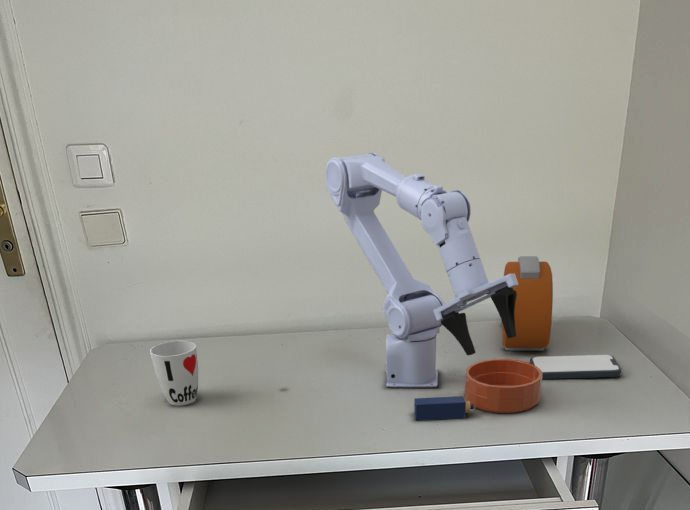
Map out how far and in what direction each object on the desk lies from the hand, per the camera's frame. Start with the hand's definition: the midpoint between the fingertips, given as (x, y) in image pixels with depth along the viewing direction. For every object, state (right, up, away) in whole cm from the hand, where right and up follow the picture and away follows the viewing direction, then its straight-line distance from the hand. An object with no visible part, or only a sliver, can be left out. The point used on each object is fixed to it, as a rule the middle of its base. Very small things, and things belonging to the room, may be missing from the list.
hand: (491, 346), depth 119 cm
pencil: (-8, -11, +6) cm, 15 cm away
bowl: (+4, -7, +11) cm, 14 cm away
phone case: (+20, -1, +21) cm, 29 cm away
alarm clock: (+14, +10, +38) cm, 41 cm away
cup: (-54, -7, +16) cm, 57 cm away
